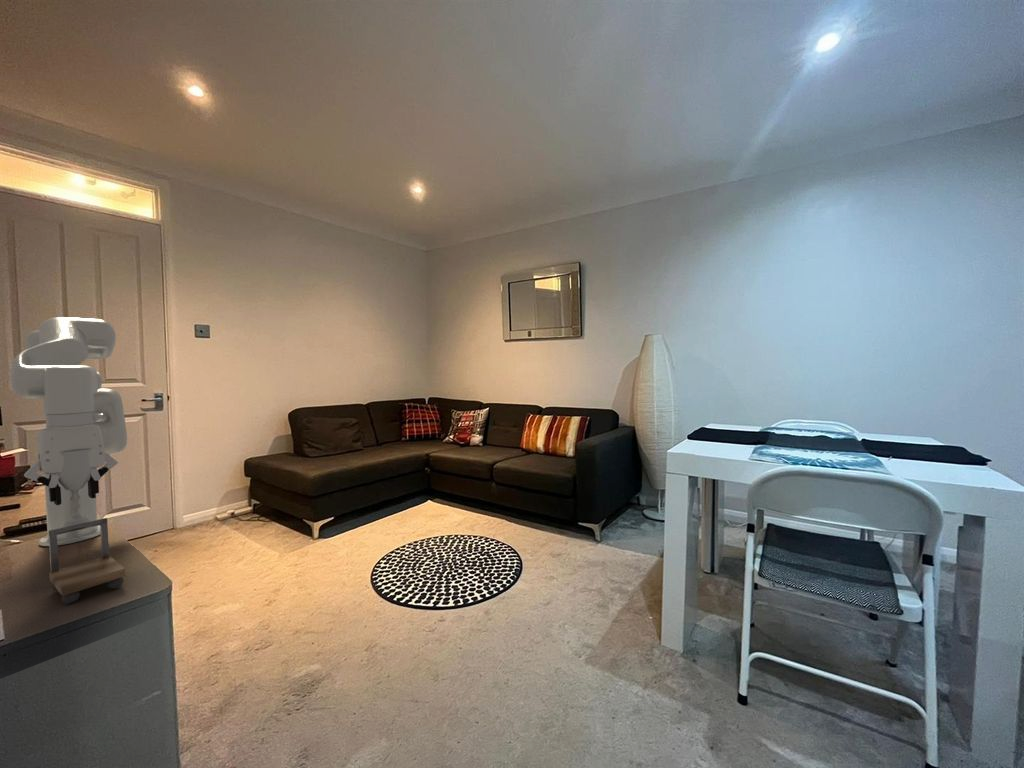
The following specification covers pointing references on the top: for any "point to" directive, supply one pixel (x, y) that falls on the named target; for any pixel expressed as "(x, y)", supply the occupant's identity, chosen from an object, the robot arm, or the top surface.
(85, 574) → the cart
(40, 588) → the top surface
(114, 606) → the top surface
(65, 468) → the chalice
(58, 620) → the top surface
